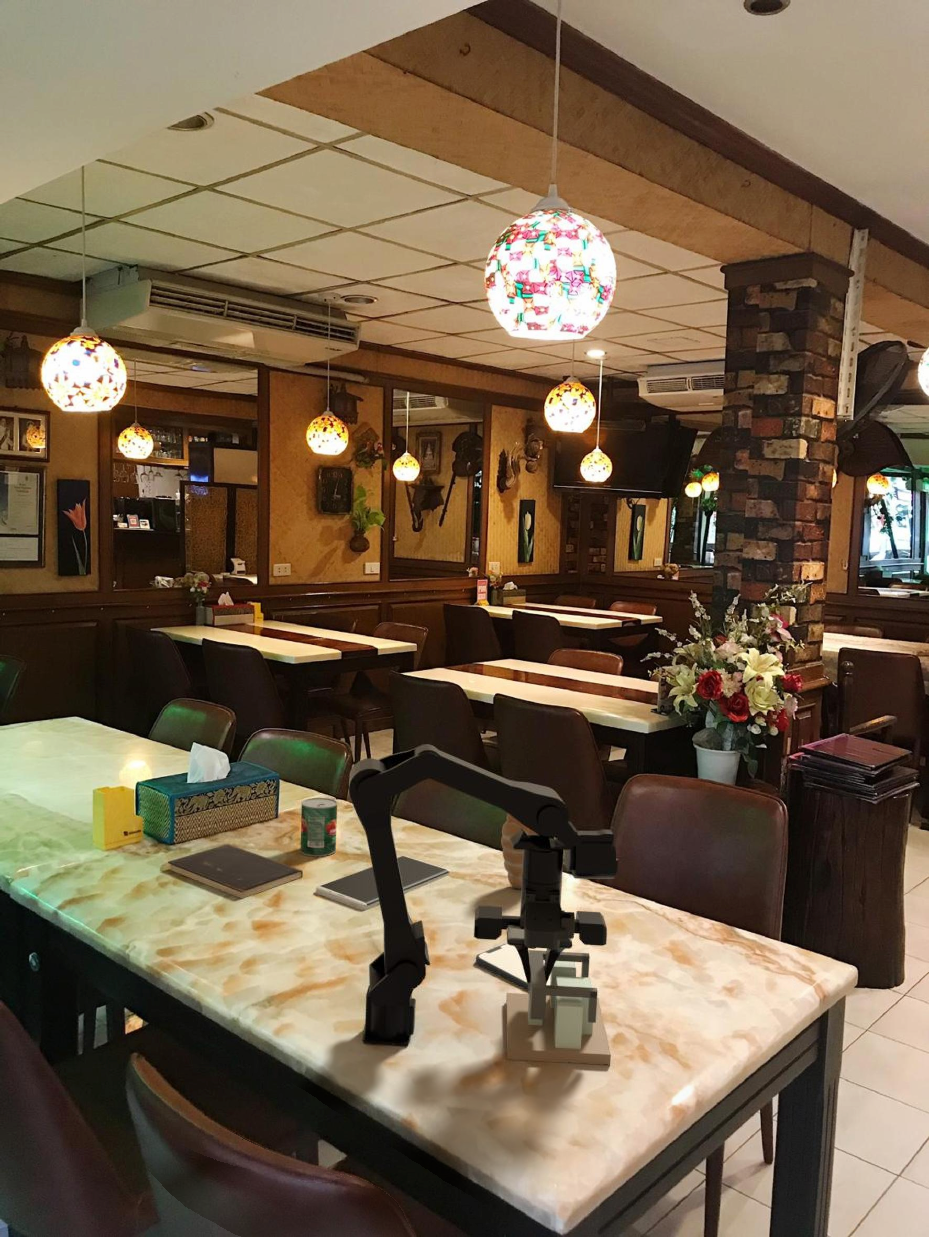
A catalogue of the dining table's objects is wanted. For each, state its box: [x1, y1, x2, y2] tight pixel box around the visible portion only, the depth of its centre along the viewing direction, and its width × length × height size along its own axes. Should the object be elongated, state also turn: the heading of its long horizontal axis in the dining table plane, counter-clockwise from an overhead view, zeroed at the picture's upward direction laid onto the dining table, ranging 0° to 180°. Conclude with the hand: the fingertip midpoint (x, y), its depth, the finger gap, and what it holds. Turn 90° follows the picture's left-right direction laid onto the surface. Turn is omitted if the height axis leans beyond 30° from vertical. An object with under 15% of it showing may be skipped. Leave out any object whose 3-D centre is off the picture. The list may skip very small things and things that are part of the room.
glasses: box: [527, 949, 599, 1023], centre depth 138 cm, size 9×12×4 cm
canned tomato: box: [299, 797, 339, 858], centre depth 211 cm, size 8×8×11 cm
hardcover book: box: [167, 843, 304, 899], centre depth 196 cm, size 16×23×2 cm
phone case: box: [475, 943, 551, 991], centre depth 157 cm, size 9×2×16 cm
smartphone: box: [315, 855, 451, 911], centre depth 194 cm, size 13×27×2 cm, turn 143°
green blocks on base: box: [505, 961, 612, 1066], centre depth 138 cm, size 14×16×8 cm
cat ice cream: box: [500, 813, 537, 889], centre depth 193 cm, size 9×8×18 cm
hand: (536, 982), depth 138 cm, fingers closed on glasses, 2 cm apart
